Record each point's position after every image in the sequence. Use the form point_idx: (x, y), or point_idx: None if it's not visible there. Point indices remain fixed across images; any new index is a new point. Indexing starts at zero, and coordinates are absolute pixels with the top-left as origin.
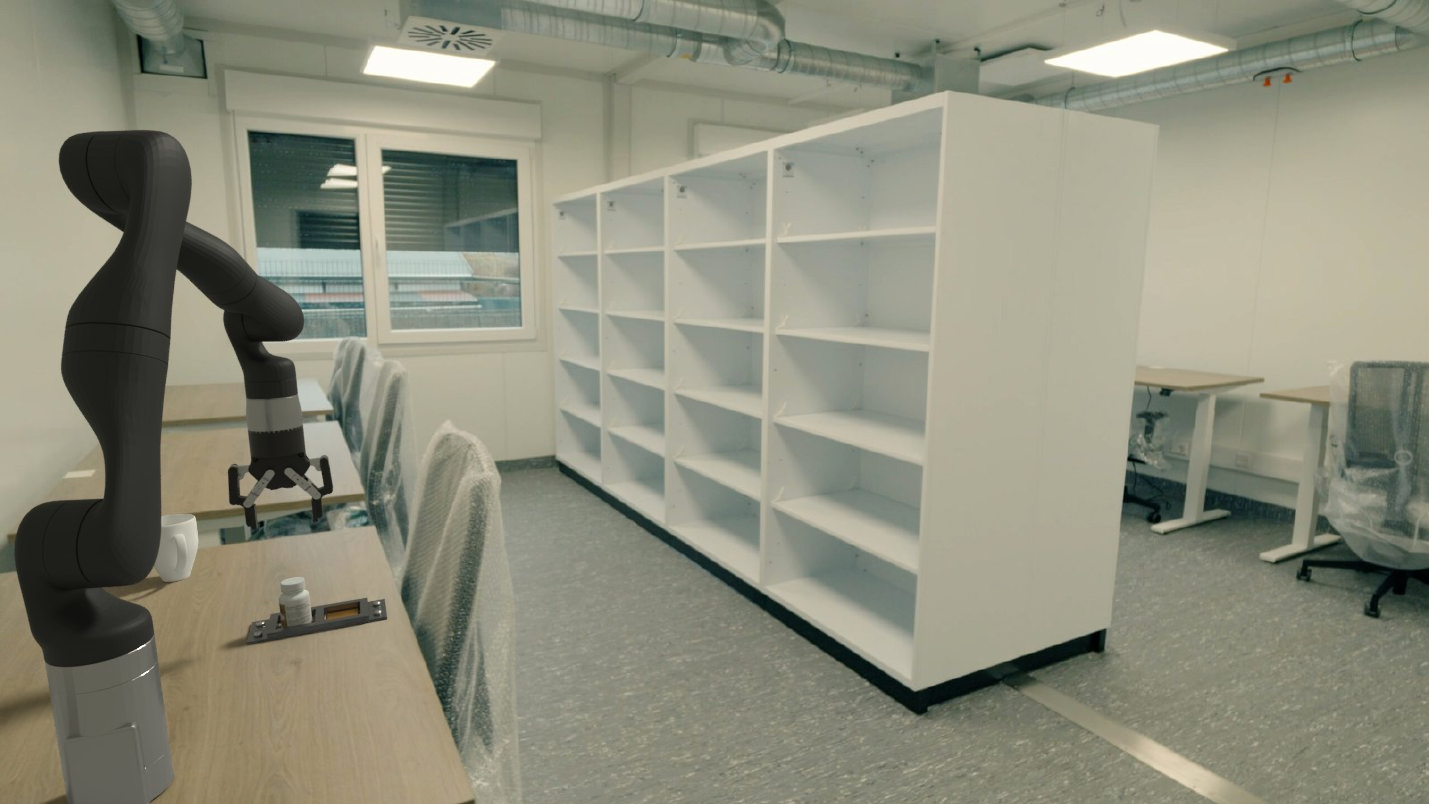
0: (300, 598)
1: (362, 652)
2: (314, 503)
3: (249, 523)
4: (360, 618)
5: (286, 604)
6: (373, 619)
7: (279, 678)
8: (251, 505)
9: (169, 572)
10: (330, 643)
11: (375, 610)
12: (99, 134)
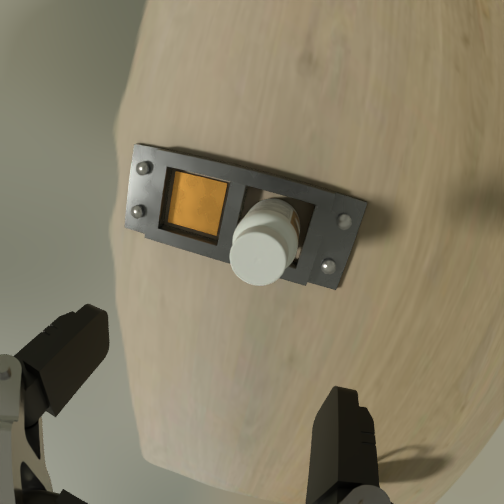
0: (255, 215)
1: (204, 31)
2: (39, 353)
3: (360, 418)
4: (171, 152)
5: (287, 219)
6: (154, 147)
7: (343, 22)
8: (352, 493)
9: None
10: (240, 98)
11: (144, 185)
12: None
